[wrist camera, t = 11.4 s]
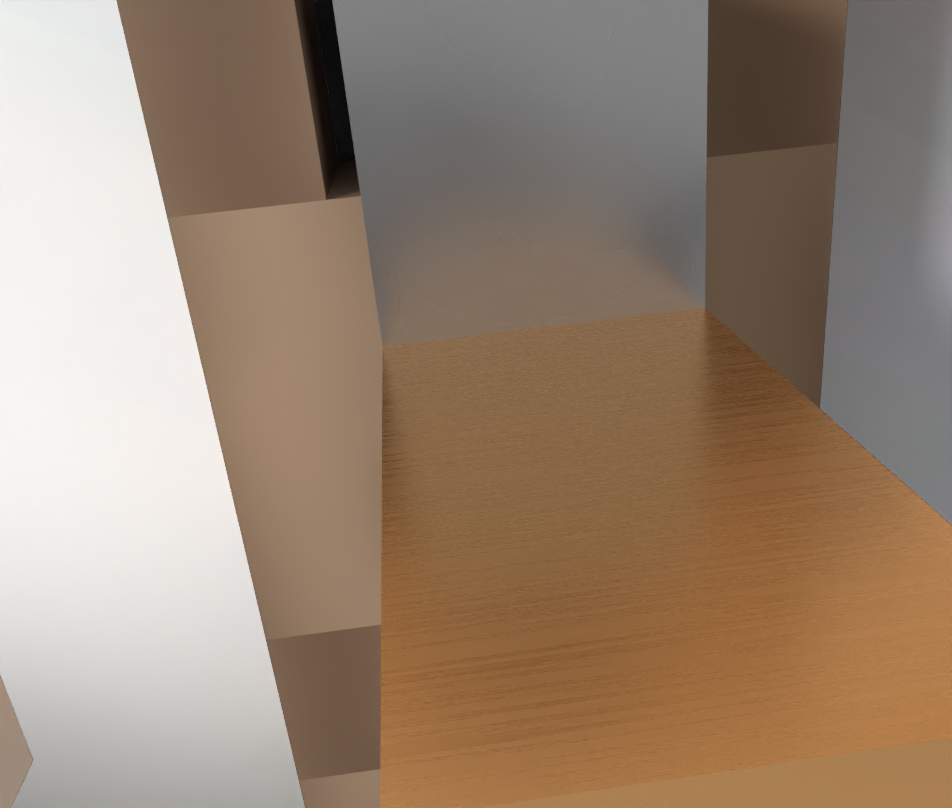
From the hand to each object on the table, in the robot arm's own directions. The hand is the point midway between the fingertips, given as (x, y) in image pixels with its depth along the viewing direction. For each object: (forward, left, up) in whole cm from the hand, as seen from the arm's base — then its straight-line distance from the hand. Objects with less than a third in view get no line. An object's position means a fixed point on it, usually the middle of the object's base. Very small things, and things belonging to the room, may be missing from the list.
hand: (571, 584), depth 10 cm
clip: (0, 0, -9) cm, 9 cm away
